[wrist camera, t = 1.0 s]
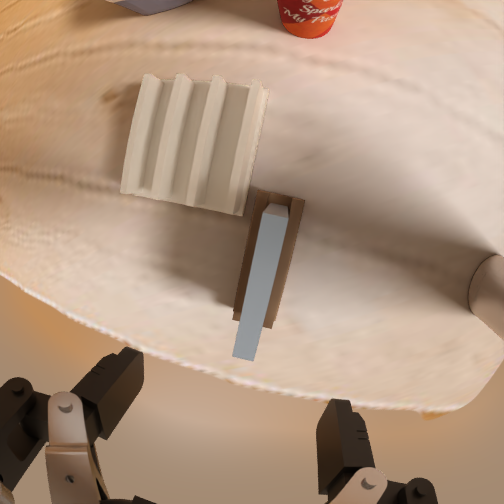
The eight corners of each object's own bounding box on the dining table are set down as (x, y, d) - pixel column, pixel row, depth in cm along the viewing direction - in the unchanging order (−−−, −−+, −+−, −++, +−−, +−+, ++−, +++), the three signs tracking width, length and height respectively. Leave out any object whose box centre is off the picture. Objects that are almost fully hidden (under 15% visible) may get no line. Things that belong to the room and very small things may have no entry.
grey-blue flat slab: (287, 206, 29) (288, 218, 19) (263, 310, 32) (253, 361, 22) (270, 202, 29) (262, 212, 19) (248, 306, 32) (232, 356, 22)
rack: (269, 91, 27) (266, 76, 22) (243, 215, 30) (235, 221, 26) (160, 82, 28) (142, 69, 23) (137, 194, 31) (116, 197, 27)
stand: (304, 200, 29) (306, 201, 26) (275, 317, 33) (274, 329, 30) (258, 189, 29) (255, 190, 27) (234, 308, 33) (229, 318, 30)
